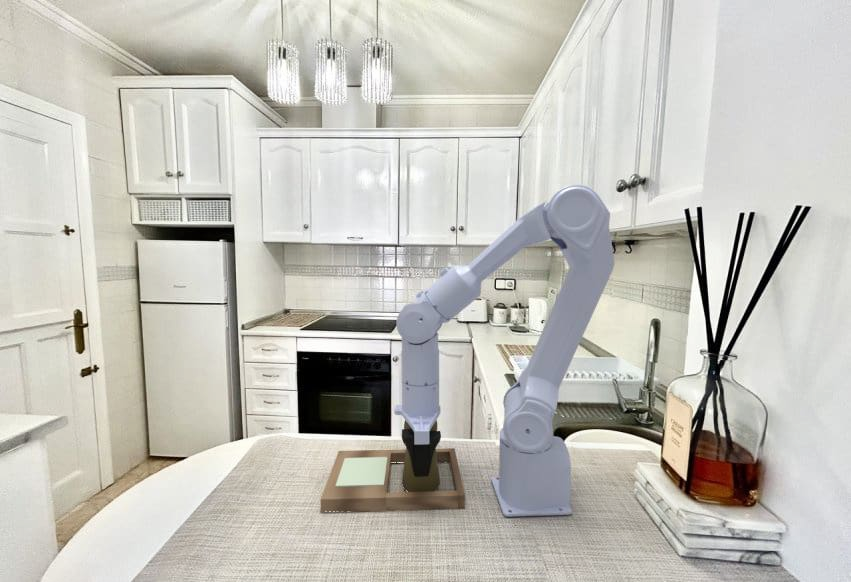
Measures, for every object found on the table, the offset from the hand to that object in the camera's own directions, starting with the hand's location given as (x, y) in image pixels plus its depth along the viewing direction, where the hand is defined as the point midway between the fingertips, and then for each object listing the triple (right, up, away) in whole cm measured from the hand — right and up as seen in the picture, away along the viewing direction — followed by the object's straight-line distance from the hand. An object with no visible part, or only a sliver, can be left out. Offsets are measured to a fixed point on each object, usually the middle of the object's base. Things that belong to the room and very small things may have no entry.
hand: (420, 464), depth 54 cm
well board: (-5, -3, 0) cm, 5 cm away
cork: (0, -3, 0) cm, 3 cm away
